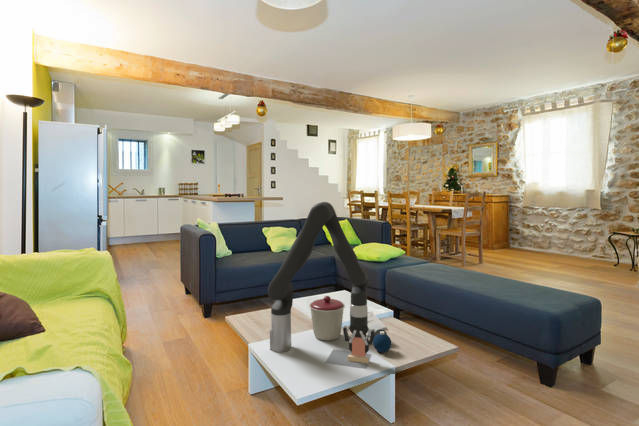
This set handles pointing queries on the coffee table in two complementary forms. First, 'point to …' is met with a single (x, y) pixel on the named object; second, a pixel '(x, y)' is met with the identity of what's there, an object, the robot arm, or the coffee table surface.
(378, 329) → the ceramic mug
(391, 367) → the coffee table surface
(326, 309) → the canister
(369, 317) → the envelope
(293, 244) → the robot arm
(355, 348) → the box
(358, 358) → the mat
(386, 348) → the christmas ornament
